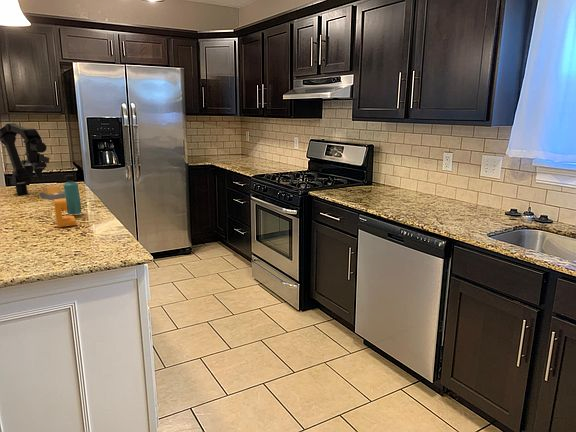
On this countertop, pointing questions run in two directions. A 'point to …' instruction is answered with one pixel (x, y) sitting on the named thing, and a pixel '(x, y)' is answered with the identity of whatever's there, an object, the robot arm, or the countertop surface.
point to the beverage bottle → (72, 196)
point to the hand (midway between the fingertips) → (35, 178)
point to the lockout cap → (51, 189)
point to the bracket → (61, 206)
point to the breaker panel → (53, 195)
